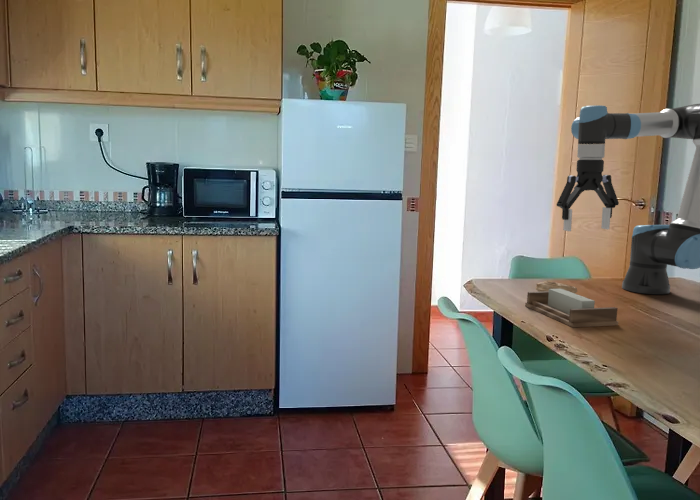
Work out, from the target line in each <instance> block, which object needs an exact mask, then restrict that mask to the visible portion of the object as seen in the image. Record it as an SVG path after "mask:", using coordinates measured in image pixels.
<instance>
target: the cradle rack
mask: <svg viewBox="0 0 700 500" xmlns="http://www.w3.org/2000/svg"><path fill="white" fill-rule="evenodd" d="M569 292H571V291H569ZM548 295H549V291H544V292H538V291H528V292H527V295H526V296H527V297H526V302H525V305H524V306H525V307H527V308H528V309H532V310H533V311H535V312H538V313H540V314H542V315H545V316H546V317H549V318H550V319H553V320H556V321H557V322H561V323H562V324H565V325H567V326H569V327H571V328H585V327H587V328H588V327H606V326H607V327H609V326H619V321H618V320H617V319H618V307H615V306H614V307H613V306H611V307H594V308H584V309H570V314H567V313H565V312H562V311H560V310H558V309H555V308H553V307H550V306H548Z"/></svg>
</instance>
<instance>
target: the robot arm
mask: <svg viewBox="0 0 700 500" xmlns="http://www.w3.org/2000/svg"><path fill="white" fill-rule="evenodd" d="M570 128H571V130H570V131H571V134H572V136H573V137H574V138H575V139H576V140H577V154H576V156H577V158H578V159H577V161H576V172H577V175H567V178H566V183H565V185H564V188H563V190H562V192H561V194H560V195H559V198H558V201H557V203H556V207H558V208H561V210H562V213H561V219H562V220H563V231H564V232H566V231H567V232H572V219H573V209H571V207H572V206H573V205H574V204H575V202H576V201H577V199H578V198H579V196H581V194H582V193H584V192H585V191H594V192H595V193H596V194H597V196H598V198H599V199H600V200H601V202H602V203H603V205H604V206H605V207H602V209H601V211H602V213H601V227H600V228H601V229H603V230H610V225H611V219H612V217H613V209H614V208H615V207H616V206H619V202H620V201H619V199H618V197H617V194H616V191H615V188H614V185H613V183H612V176H611V174H603V172H604V169H605V165H604V164H605V161H604V160H603V158H605V153H606V150H605V147H606V140H619V139H620V140H628V139H629V140H630V139H635V138H637V137H651V136H652V137H653V136H654V137H655V136H659V137H661V138H664V139H671V138H673V139H674V138H675V139H684V140H685V139H687V140H692V144H694V146H695V151H694V154H693V159H692V162H691V166H690V170H689V173H688V177H687V181H686V183H685V184H686V185H685V188H684V191H683V195H682V198H681V202H680V206H679V208H678V209H679V210H678V213H677V217H676V219H674V220H672V221H671V222H670V223H669V224H645V225H644V224H640V225H639V224H638V225H636V226H634V227H633V230H632V236H631V245H630V257H629V258H630V259H629V267H628V269H627V272H626V274H625V277H624V279H623V280H622V284H621V288H622V289H623V290H626V291H629V292H632V293H637V294H645V295H669V294H670V292H671V285H670V281H669V280H670V279H669V275H668V272H667V268H668V266H671V267H677V268H680V269H682V270H683V269H684V270H685V269H688V270H698V269H700V103H694V104H689V105H684V106H679V107H674V108H665V109H662V110H661V111H658V112H656V111H655V112H637V113H635V112H634V113H629V112H624V113H622V112H620V113H619V112H618V113H617V112H616V113H614V112H610V113H609V112H608V107H607V106H606V105H597V104H596V105H585V106H581V108H580V111H579V116H578V117H576V118H574V120H573V121H572V123H571V127H570ZM576 183H577V184H576ZM601 183H602V184H603V185H602V184H601Z"/></svg>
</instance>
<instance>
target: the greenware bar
mask: <svg viewBox="0 0 700 500" xmlns="http://www.w3.org/2000/svg"><path fill="white" fill-rule="evenodd" d="M595 303H596V302H595V300H594V299H590V298H587V296H582V295H579V294H577V293H575V294H574V293H572V292H569V291H566V290H563V289H549V295H548V306H550V307H553V308H555V309H558V310H560V311H562V312H565V313H567V314H570V309H584V308H595Z"/></svg>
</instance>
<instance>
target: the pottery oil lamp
mask: <svg viewBox="0 0 700 500" xmlns="http://www.w3.org/2000/svg"><path fill="white" fill-rule="evenodd" d="M535 285H536V286H535V290H536V292H544V291H549V289H563V290H566V291H571V292H572V293H574V294H577V292H578V288H577V287H575V286H574V285H573V286H572V285H569V284H565V283H559V282H555V281H548V280H544V281H541V282H537V283H536V284H535Z"/></svg>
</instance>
